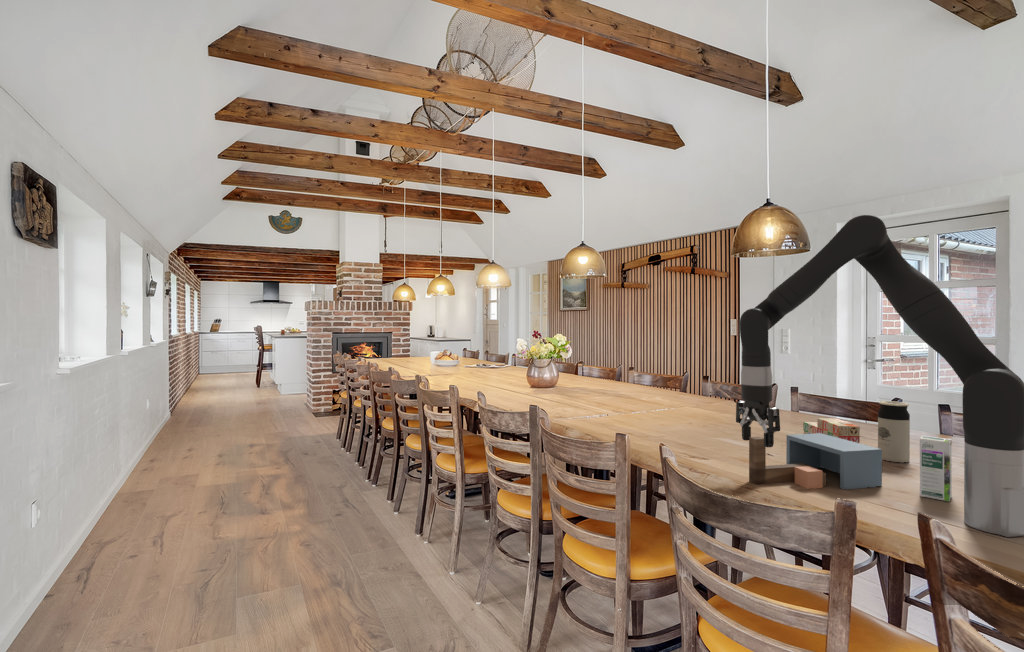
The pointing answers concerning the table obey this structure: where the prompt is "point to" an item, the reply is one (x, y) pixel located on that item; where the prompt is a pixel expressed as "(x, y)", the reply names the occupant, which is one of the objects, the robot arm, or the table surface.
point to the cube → (809, 477)
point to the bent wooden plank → (772, 472)
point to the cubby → (837, 458)
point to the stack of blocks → (833, 428)
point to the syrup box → (936, 468)
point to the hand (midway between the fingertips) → (757, 443)
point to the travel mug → (894, 431)
